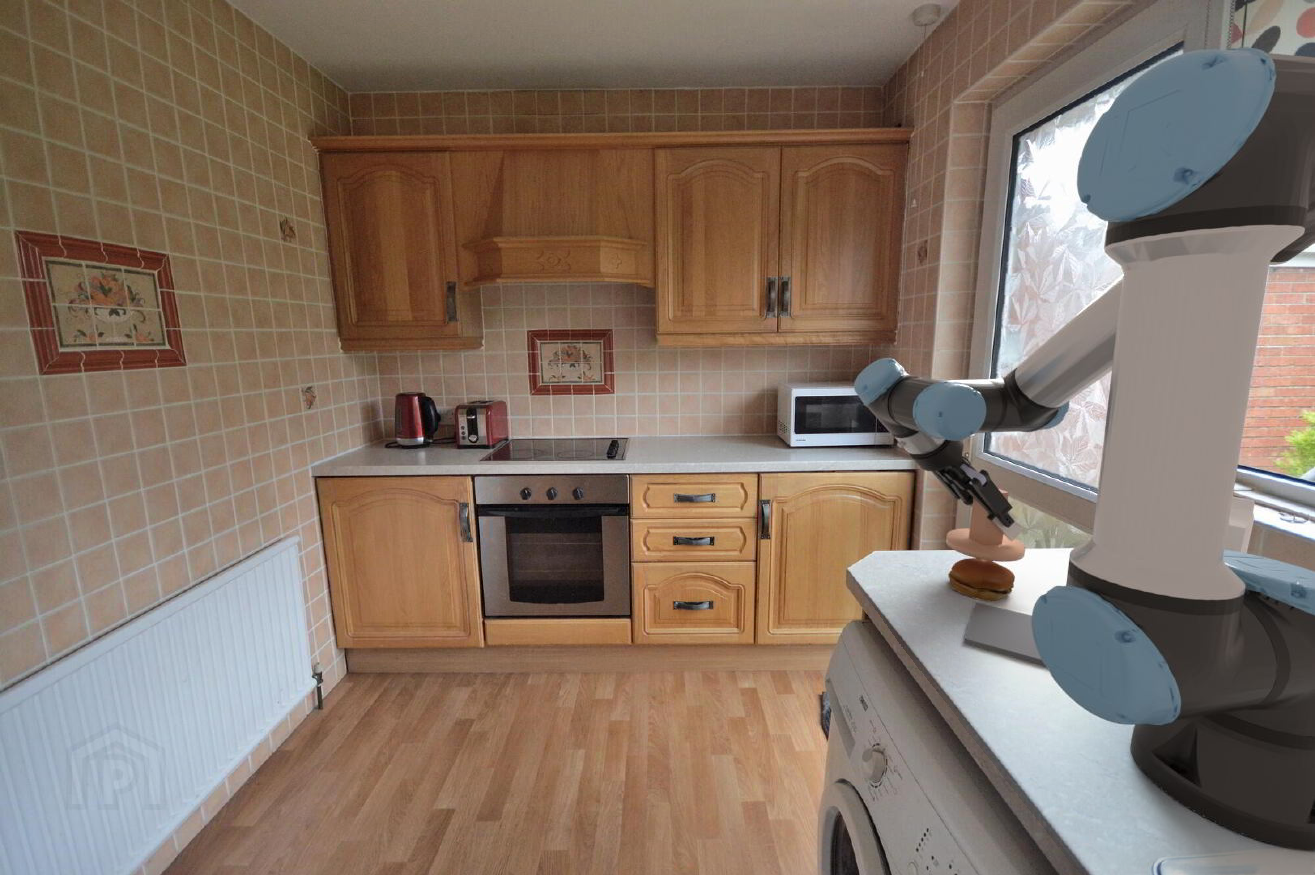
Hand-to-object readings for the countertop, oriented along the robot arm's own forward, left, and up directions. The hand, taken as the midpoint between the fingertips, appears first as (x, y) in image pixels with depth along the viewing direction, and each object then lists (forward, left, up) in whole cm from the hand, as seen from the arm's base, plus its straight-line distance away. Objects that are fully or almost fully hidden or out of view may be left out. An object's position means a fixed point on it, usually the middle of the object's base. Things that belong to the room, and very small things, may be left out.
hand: (1006, 530), depth 97 cm
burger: (-3, +3, -11) cm, 11 cm away
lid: (-3, +3, -3) cm, 5 cm away
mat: (-17, -4, -10) cm, 21 cm away
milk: (-5, -24, -10) cm, 27 cm away
